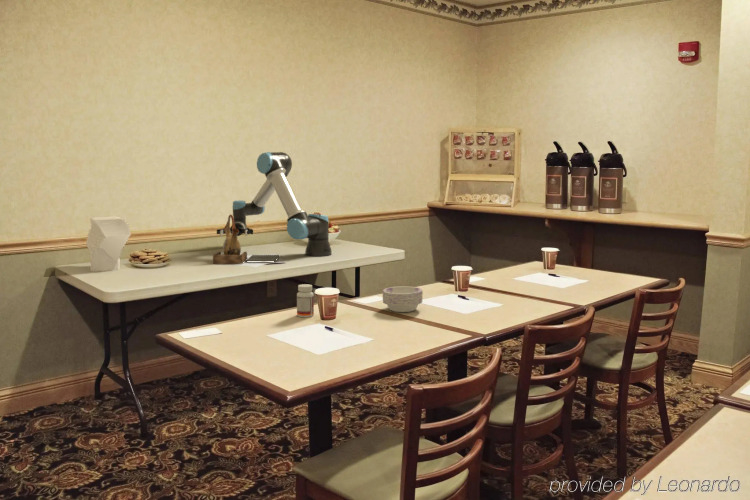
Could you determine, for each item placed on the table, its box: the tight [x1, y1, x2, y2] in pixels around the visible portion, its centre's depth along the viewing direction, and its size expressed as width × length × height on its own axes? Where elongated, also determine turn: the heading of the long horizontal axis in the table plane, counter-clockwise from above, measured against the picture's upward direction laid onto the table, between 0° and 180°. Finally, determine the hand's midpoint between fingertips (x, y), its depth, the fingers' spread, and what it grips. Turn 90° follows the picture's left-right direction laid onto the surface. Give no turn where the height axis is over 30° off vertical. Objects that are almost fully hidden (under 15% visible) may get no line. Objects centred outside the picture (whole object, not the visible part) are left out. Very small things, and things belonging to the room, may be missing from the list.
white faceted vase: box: [85, 215, 132, 272], centre depth 342 cm, size 21×27×26 cm
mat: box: [246, 254, 280, 263], centre depth 371 cm, size 15×18×1 cm
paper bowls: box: [382, 285, 424, 313], centre depth 259 cm, size 15×15×8 cm
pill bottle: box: [296, 283, 315, 318], centre depth 248 cm, size 6×6×11 cm
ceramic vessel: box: [222, 214, 242, 255], centre depth 366 cm, size 16×9×25 cm, turn 33°
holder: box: [212, 251, 248, 265], centre depth 363 cm, size 15×13×4 cm
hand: (233, 233), depth 375 cm, fingers open, 13 cm apart
